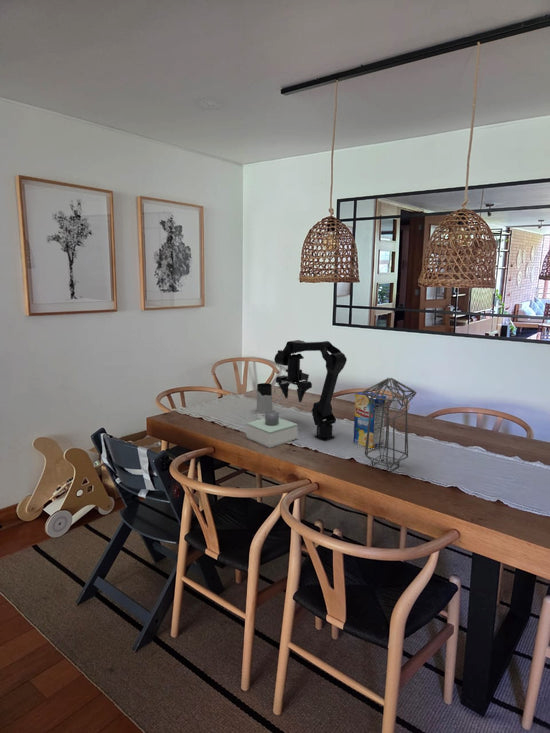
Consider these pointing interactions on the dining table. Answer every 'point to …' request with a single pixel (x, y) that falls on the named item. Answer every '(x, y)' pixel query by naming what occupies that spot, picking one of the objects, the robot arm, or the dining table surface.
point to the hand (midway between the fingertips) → (293, 400)
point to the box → (271, 436)
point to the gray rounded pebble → (271, 418)
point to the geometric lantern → (380, 386)
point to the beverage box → (363, 419)
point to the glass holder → (265, 398)
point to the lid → (271, 429)
